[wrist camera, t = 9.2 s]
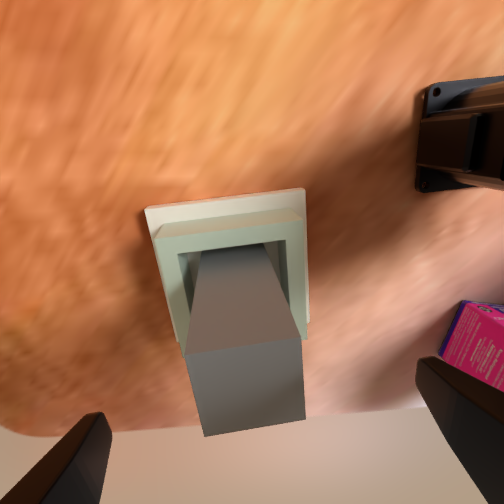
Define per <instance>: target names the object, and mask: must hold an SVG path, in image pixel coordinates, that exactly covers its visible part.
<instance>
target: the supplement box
mask: <svg viewBox="0 0 504 504" xmlns="http://www.w3.org/2000/svg"><path fill="white" fill-rule="evenodd" d="M438 355H439V356H441V357H442V358H443V359H444V360H445V361H446V362H447V363H448V364H450V365H452V366H454V367H456V368H458V369H460V370H462V371H464V372H466V373H468V374H470V375H472V376H473V377H475V378H477V379H479V380H481V381H483V382H485V383H487V384H489V385H491V386H493V387H495V388H497V389H499V390H501V391H503V392H504V305H499V304H489V303H480V302H473V301H466V300H464V301H462V303H461V305H460V307H459V309H458V312H457V314H456V316H455V318H454V320H453V323H452V325H451V327H450V329H449V331H448V333H447V336H446V338H445V340H444V342H443V344H442V346H441V348H440V350H439V352H438Z"/></svg>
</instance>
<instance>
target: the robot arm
mask: <svg viewBox="0 0 504 504" xmlns="http://www.w3.org/2000/svg"><path fill="white" fill-rule="evenodd" d="M434 89H436V92H437V93H436V95H435V96H433V90H434ZM416 163H417V170H416V180H415V189H416V190H417V191H418V192H422V193H428V192H436V191H444V190H452V189H460V188H468V187H476V186H480V187H485V188H490V189H496V190H501V191H504V76H496V77H486V78H477V79H467V80H458V81H448V82H438V83H434V84H431V85H429V86H428V87H427V89H426V90H425V94H424V104H423V113H422V122H421V123H420V131H419V141H418V150H417V160H416ZM424 182H425V183H426V184H425V186H424V187H423V188H422V185H423V183H424ZM415 382H416V386H417V388H418V390H419V392H420V394H421V395H422V397H423V399H424V401H425V403H426V405H427V406H428V408H429V410H430V412H431V414H432V415H433V417H434V419H435V421H436V423H437V424H438V426H439V428H440V430H441V432H442V434H443V435H444V437H445V439H446V441H447V442H448V444H449V445H450V447H451V449H452V450H453V452H454V453H455V455H456V456H457V457H458V459H459V461H460V462H461V463H462V465H463V466H464V468H465V470H466V471H467V473H468V474H469V475H470V477H471V479H472V480H473V481H474V483H475V484H476V486H477V487H478V489H479V490H480V492H481V493H482V495H483V496H484V498H485V499H486V501H487V502H488V504H504V392H503V391H501V390H499V389H497V388H495V387H493V386H491V385H489V384H487V383H485V382H483V381H481V380H479V379H477V378H475V377H473V376H472V375H470V374H468V373H466V372H464V371H462V370H460V369H458V368H456V367H454V366H452V365H450V364H448V363H446V362H444V361H442V360H440V359H438V358H436V357H434V356H429V357H423V358H419V359H418V361H417V368H416V377H415ZM111 442H112V431H111V429H110V426H109V424H108V422H107V419H106V417H105V415H104V413H102V412H95V413H89V414H86V415H85V416H84V417H82V418H81V419H80V420H79V422H78V423H77V424H76V425H75V426H74V427H73V428H72V429H71V430H70V431H69V432H68V433H67V434H66V435H65V436H64V437H63V438H62V439H61V440H60V441H59V442H58V443H57V444H56V445H55V446H54V447H53V448H52V449H51V450H50V451H49V452H48V453H47V454H46V455H45V456H44V457H43V458H42V459H41V460H40V461H39V462H38V463H37V464H36V465H35V466H34V467H33V468H32V469H31V470H30V471H29V472H28V473H27V474H26V475H25V476H24V477H23V478H22V479H21V480H20V481H19V482H18V483H17V484H16V485H15V486H14V487H13V488H12V489H11V490H10V491H9V492H8V493H7V494H6V495H5V496H4V497H3V498H2V499H1V500H0V504H99V502H100V498H101V493H102V488H103V483H104V478H105V473H106V468H107V463H108V458H109V452H110V448H111Z"/></svg>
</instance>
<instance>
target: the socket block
mask: <svg viewBox="0 0 504 504" xmlns="http://www.w3.org/2000/svg"><path fill="white" fill-rule="evenodd" d="M144 211H145V215H146V219H147V223H148V227H149V231H150V235H151V239H152V243H153V247H154V252H155V256H156V260H157V264H158V268H159V272H160V276H161V280H162V284H163V288H164V292H165V296H166V300H167V304H168V309H169V313H170V317H171V321H172V325H173V329H174V333H175V337H176V341H177V342H179V344H180V348H181V352H182V356H183V358H185V357H184V353H185V347H186V341H187V335H188V329H189V323H190V317H191V311H192V305H193V299H194V293H195V287H196V281H197V275H198V269H199V263H200V257H201V251H202V250H210V249H218V248H225V247H233V246H240V245H248V244H256V243H263V244H264V246H265V249H266V251H267V254H268V256H269V259H270V261H271V264H272V266H273V269H274V271H275V274H276V276H277V278H278V281H279V283H280V286H281V288H282V291H283V293H284V296H285V298H286V301H287V303H288V306H289V308H290V311H291V313H292V316H293V318H294V321H295V323H296V326H297V328H298V331H299V333H300V336H301V340H307V323H310V312H309V282H308V253H307V223H306V193H305V189H303V188H292V189H284V190H276V191H268V192H259V193H251V194H243V195H235V196H227V197H218V198H210V199H202V200H194V201H186V202H177V203H169V204H161V205H153V206H148V207H147V208H145V209H144Z"/></svg>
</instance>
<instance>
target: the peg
mask: <svg viewBox="0 0 504 504" xmlns="http://www.w3.org/2000/svg"><path fill="white" fill-rule="evenodd" d="M184 357H185V361H186V365H187V369H188V373H189V377H190V381H191V385H192V389H193V393H194V397H195V401H196V405H197V409H198V413H199V417H200V421H201V425H202V429H203V433H204V437H207V436H213V435H219V434H224V433H230V432H236V431H242V430H248V429H253V428H259V427H264V426H270V425H277V424H283V423H288V422H294V421H299V420H305V419H306V414H305V397H304V379H303V362H302V345H301V336H300V333H299V331H298V328H297V326H296V323H295V321H294V318H293V316H292V313H291V311H290V308H289V306H288V303H287V301H286V298H285V296H284V293H283V291H282V288H281V286H280V283H279V281H278V278H277V276H276V274H275V271H274V269H273V266H272V264H271V261H270V259H269V256H268V254H267V251H266V249H265V246H264V244H263V243H256V244H248V245H240V246H233V247H225V248H218V249H210V250H202V251H201V257H200V263H199V269H198V275H197V281H196V287H195V293H194V299H193V305H192V311H191V317H190V323H189V329H188V335H187V341H186V347H185V353H184Z"/></svg>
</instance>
